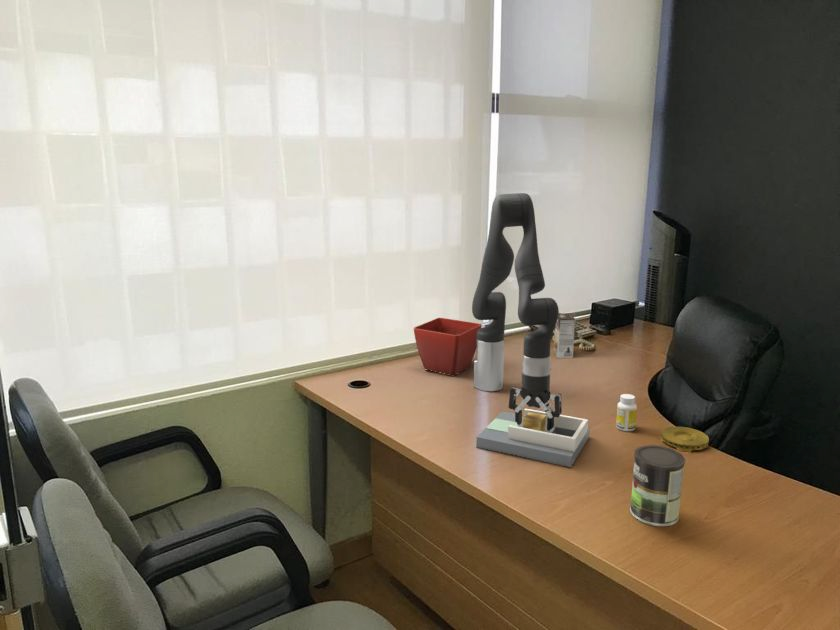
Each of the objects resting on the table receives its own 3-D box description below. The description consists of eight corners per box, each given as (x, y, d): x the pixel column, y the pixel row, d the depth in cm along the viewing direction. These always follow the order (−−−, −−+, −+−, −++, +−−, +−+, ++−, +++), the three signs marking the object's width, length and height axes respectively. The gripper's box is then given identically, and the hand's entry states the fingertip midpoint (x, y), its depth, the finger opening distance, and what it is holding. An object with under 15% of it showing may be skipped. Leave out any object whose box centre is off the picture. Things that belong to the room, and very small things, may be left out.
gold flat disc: (651, 438, 177) (652, 431, 176) (684, 430, 182) (684, 423, 181) (684, 456, 166) (685, 448, 166) (718, 447, 171) (718, 440, 170)
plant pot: (482, 366, 239) (482, 323, 235) (457, 381, 223) (458, 335, 219) (439, 358, 249) (438, 317, 245) (412, 372, 233) (412, 328, 229)
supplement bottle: (635, 425, 185) (637, 394, 182) (635, 432, 180) (637, 400, 177) (616, 423, 187) (618, 392, 184) (615, 430, 182) (617, 398, 179)
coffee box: (553, 351, 256) (554, 313, 252) (568, 351, 256) (570, 313, 252) (557, 358, 247) (559, 318, 243) (573, 358, 247) (575, 318, 243)
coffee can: (641, 528, 134) (646, 468, 130) (622, 502, 144) (626, 446, 140) (688, 525, 135) (694, 465, 131) (666, 500, 145) (671, 443, 141)
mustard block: (522, 433, 173) (522, 418, 172) (528, 427, 177) (528, 412, 176) (540, 437, 171) (540, 421, 170) (545, 430, 175) (546, 415, 174)
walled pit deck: (476, 447, 172) (476, 425, 170) (502, 420, 189) (502, 400, 188) (570, 467, 160) (572, 443, 159) (589, 437, 177) (590, 415, 176)
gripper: (506, 371, 170) (505, 427, 173) (558, 378, 163) (555, 436, 167) (515, 363, 176) (514, 417, 180) (565, 370, 170) (563, 426, 173)
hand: (534, 426), depth 173 cm, fingers open, 8 cm apart
